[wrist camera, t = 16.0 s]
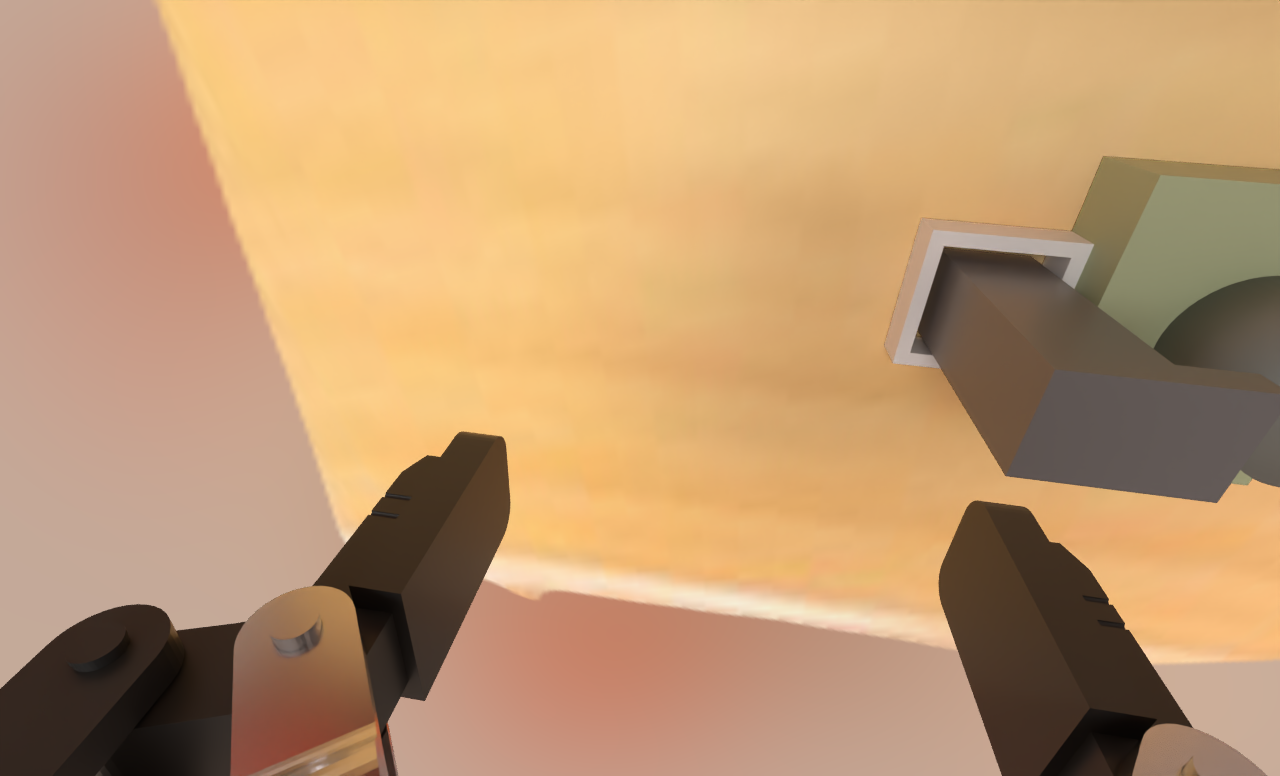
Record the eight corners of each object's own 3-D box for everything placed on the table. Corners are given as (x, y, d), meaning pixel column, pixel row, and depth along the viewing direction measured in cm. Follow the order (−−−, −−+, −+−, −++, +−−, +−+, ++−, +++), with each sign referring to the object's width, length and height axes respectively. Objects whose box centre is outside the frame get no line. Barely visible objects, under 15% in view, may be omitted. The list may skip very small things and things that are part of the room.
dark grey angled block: (915, 325, 37) (1005, 476, 25) (939, 247, 35) (1055, 369, 22) (1050, 340, 37) (1216, 503, 24) (1085, 260, 34) (1293, 395, 21)
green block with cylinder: (1357, 175, 30) (1636, 237, 21) (1190, 435, 38) (1336, 564, 29) (942, 143, 32) (1026, 187, 23) (868, 397, 40) (907, 506, 31)
